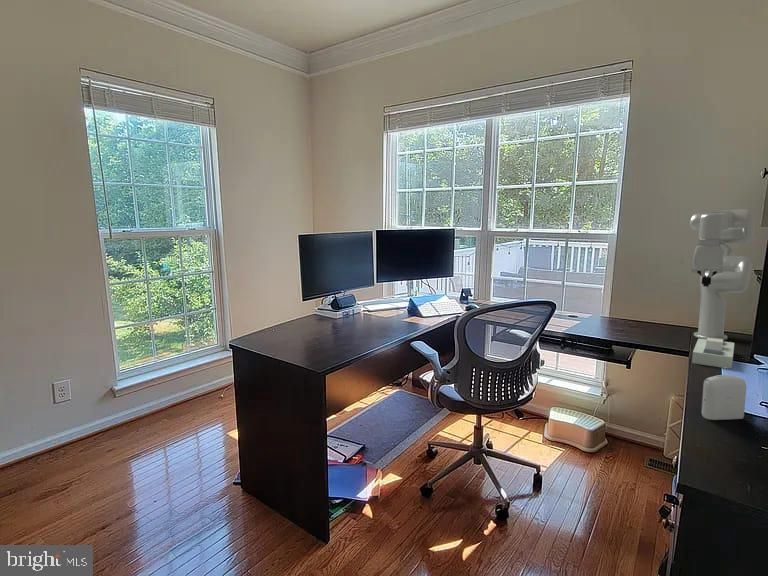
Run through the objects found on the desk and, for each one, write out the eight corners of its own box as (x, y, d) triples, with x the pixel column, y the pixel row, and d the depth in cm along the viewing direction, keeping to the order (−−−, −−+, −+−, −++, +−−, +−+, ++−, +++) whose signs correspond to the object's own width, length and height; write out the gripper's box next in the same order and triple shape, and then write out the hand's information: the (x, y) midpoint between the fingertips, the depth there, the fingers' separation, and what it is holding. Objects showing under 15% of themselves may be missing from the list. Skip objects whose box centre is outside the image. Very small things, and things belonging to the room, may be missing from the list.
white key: (706, 346, 172) (707, 337, 172) (722, 348, 169) (723, 339, 169) (705, 349, 169) (706, 340, 168) (721, 351, 165) (722, 342, 165)
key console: (697, 348, 182) (698, 338, 182) (733, 353, 175) (734, 342, 174) (692, 363, 164) (692, 351, 164) (731, 369, 157) (732, 357, 156)
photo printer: (709, 421, 117) (712, 378, 115) (698, 414, 121) (701, 373, 119) (746, 420, 117) (750, 377, 115) (734, 413, 121) (737, 372, 119)
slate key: (704, 355, 167) (705, 345, 166) (721, 357, 163) (721, 347, 163) (703, 358, 163) (704, 348, 162) (720, 360, 160) (721, 350, 159)
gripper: (732, 242, 175) (728, 286, 178) (688, 242, 185) (685, 284, 188) (732, 243, 170) (728, 288, 172) (686, 243, 180) (683, 286, 182)
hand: (705, 286), depth 180 cm, fingers closed
